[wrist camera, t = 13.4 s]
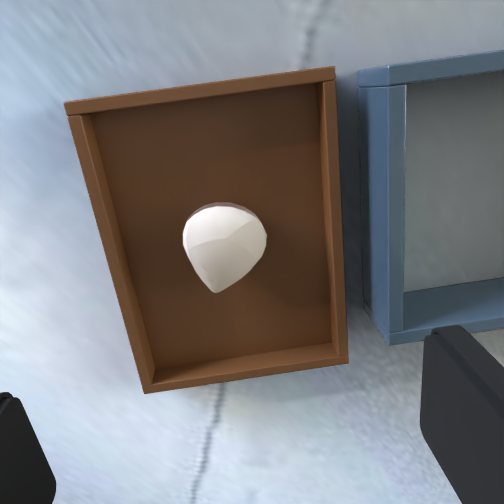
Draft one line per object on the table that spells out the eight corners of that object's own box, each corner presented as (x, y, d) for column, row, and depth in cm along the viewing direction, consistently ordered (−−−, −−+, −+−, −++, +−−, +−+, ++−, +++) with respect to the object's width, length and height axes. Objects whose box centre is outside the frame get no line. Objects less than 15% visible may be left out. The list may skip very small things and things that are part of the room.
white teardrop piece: (270, 205, 22) (276, 218, 19) (252, 288, 24) (255, 309, 21) (189, 191, 21) (186, 203, 19) (177, 277, 23) (172, 298, 21)
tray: (77, 101, 20) (62, 102, 18) (324, 68, 20) (335, 65, 18) (149, 372, 26) (143, 394, 24) (339, 344, 26) (348, 363, 24)
